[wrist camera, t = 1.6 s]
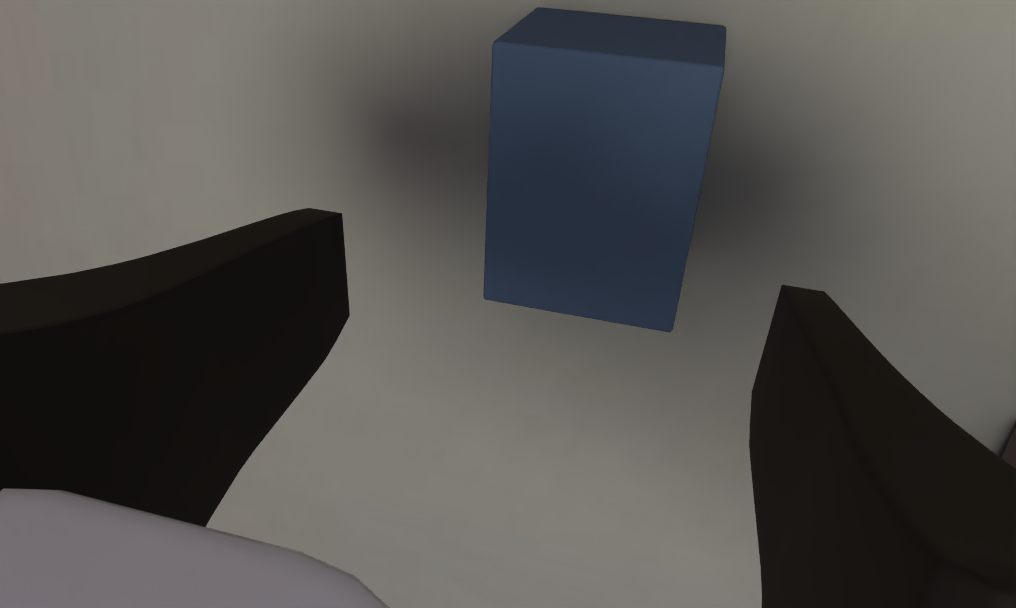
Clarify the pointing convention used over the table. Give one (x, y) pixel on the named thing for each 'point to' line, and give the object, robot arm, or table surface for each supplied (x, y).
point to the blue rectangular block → (598, 162)
